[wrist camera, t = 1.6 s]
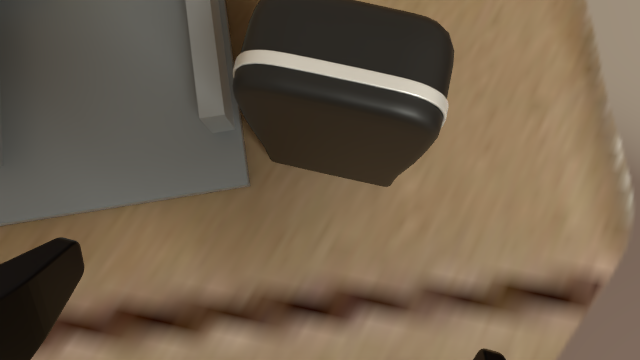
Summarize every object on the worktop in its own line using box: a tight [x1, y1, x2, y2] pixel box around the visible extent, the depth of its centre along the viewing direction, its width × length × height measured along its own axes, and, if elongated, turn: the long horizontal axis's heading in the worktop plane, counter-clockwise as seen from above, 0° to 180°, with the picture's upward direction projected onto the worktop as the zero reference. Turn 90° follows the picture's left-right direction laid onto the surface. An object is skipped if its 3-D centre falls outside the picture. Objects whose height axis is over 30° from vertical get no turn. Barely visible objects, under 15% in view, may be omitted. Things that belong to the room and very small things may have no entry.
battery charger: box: [232, 0, 454, 187], centre depth 18 cm, size 7×4×11 cm, turn 77°
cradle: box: [0, 0, 250, 226], centre depth 23 cm, size 16×14×3 cm
